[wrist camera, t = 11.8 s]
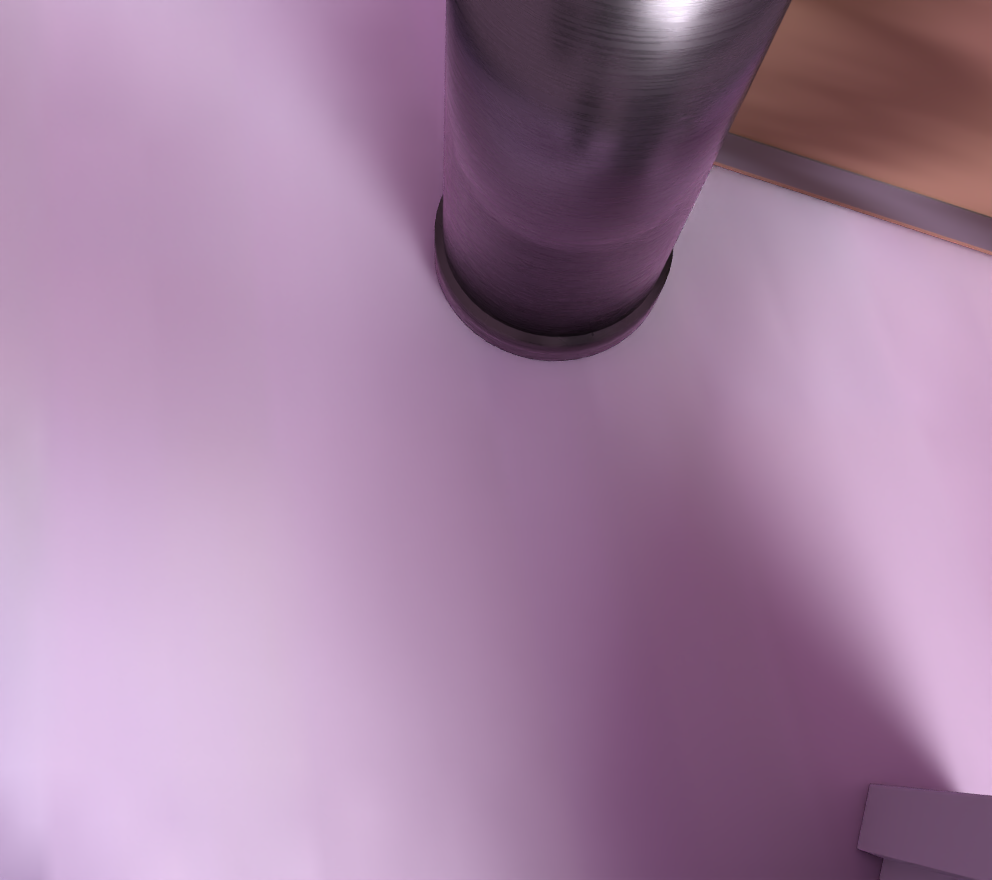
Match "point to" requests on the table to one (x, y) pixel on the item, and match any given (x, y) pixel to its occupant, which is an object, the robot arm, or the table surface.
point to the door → (877, 112)
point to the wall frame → (928, 833)
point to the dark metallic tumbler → (581, 156)
